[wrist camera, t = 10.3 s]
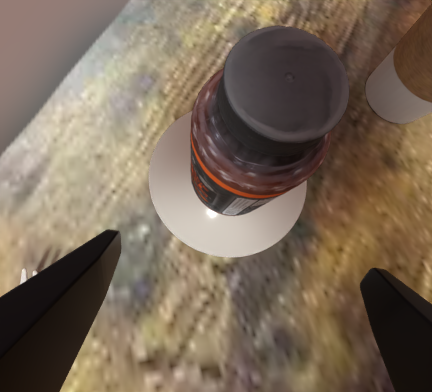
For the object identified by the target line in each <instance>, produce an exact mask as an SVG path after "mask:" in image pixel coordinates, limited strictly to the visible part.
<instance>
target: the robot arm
mask: <svg viewBox="0 0 432 392" xmlns="http://www.w3.org/2000/svg"><path fill="white" fill-rule="evenodd" d="M120 254H121V234H120V232H119V231H117V230H110V229H108V230H105V231H104V232H102V233H101V234H99V235H97V236H96V237H94V238H93V239H91V240H90V241H88V242H86V243H85V244H83V245H82V246H80V247H78V248H77V249H75V250H74V251H72V252H71V253H69V254H67V255H66V256H64V257H63V258H61V259H60V260H58V261H56V262H55V263H53V264H52V265H50V266H49V267H47V268H45V269H44V270H42V271H41V272H39V273H38V274H36V275H34V276H33V277H31V278H30V279H28V280H26V281H25V282H23V283H22V284H20V285H19V286H17V287H15V288H14V289H12V290H11V291H9V292H8V293H6V294H4V295H3V296H1V297H0V392H60V390H61V387H62V385H63V383H64V381H65V379H66V377H67V375H68V373H69V371H70V369H71V367H72V365H73V363H74V361H75V359H76V357H77V355H78V352H79V350H80V348H81V346H82V344H83V342H84V340H85V338H86V336H87V334H88V332H89V330H90V328H91V326H92V324H93V322H94V319H95V317H96V315H97V313H98V311H99V309H100V307H101V305H102V303H103V301H104V299H105V296H106V294H107V291H108V288H109V285H110V283H111V280H112V277H113V274H114V271H115V269H116V266H117V263H118V260H119V257H120ZM360 290H361V293H362V297H363V300H364V304H365V308H366V311H367V315H368V318H369V322H370V325H371V329H372V332H373V335H374V337H375V340H376V343H377V345H378V348H379V350H380V353H381V356H382V358H383V361H384V364H385V366H386V369H387V371H388V374H389V377H390V379H391V382H392V385H393V387H394V390H395V392H432V304H431V303H429V302H428V301H427V300H425V299H424V298H423V297H421V296H420V295H419V294H417V293H416V292H414V291H413V290H412V289H410V288H409V287H408V286H406V285H405V284H404V283H402V282H401V281H400V280H398V279H397V278H396V277H394V276H393V275H392V274H390V273H389V272H388V271H386V270H384V269H379V268H371V269H370V270H369V271H368V273H367V274H366V275H365V277H364V278H363V280H362V281H361V283H360Z"/></svg>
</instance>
